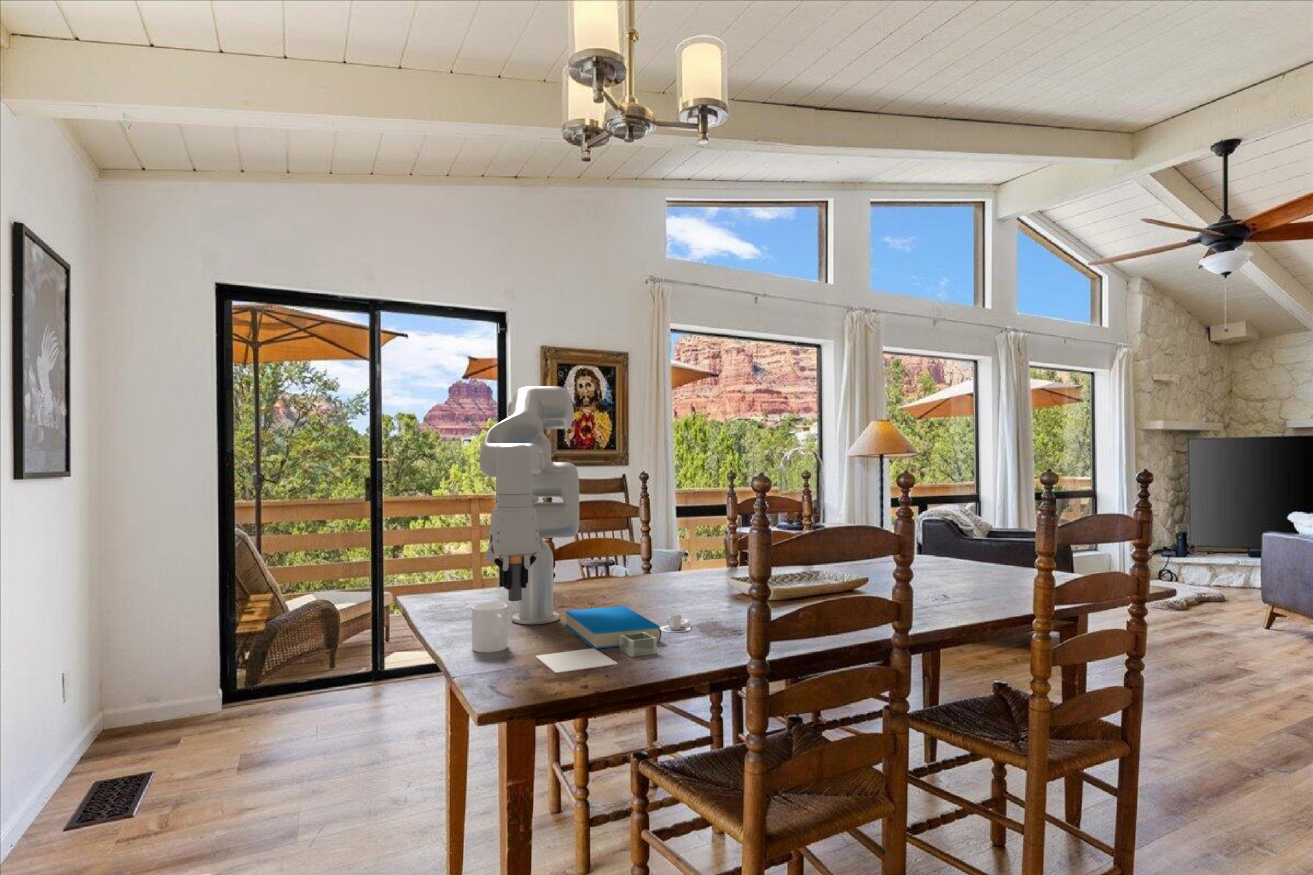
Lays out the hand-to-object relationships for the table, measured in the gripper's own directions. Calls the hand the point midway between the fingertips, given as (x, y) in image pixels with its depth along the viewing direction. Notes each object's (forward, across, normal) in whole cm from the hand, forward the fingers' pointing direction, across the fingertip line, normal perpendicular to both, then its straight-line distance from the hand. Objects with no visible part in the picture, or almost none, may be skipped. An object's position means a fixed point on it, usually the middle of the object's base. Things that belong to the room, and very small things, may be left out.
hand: (514, 587), depth 166 cm
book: (+17, -29, -16) cm, 37 cm away
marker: (+3, 0, 0) cm, 3 cm away
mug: (+17, +1, -15) cm, 23 cm away
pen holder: (+17, -28, +2) cm, 33 cm away
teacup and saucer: (+18, -48, -12) cm, 53 cm away
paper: (+17, -13, +2) cm, 21 cm away
